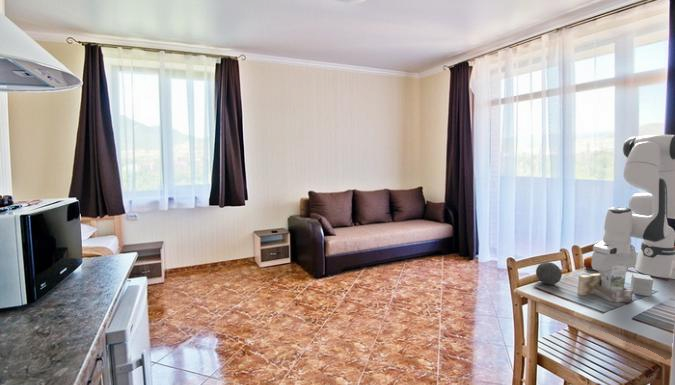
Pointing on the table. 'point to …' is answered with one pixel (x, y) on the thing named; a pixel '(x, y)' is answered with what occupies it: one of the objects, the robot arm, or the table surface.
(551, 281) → the decorative ball
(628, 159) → the robot arm
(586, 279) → the wooden table
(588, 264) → the fruit
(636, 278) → the product box
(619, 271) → the syrup box
